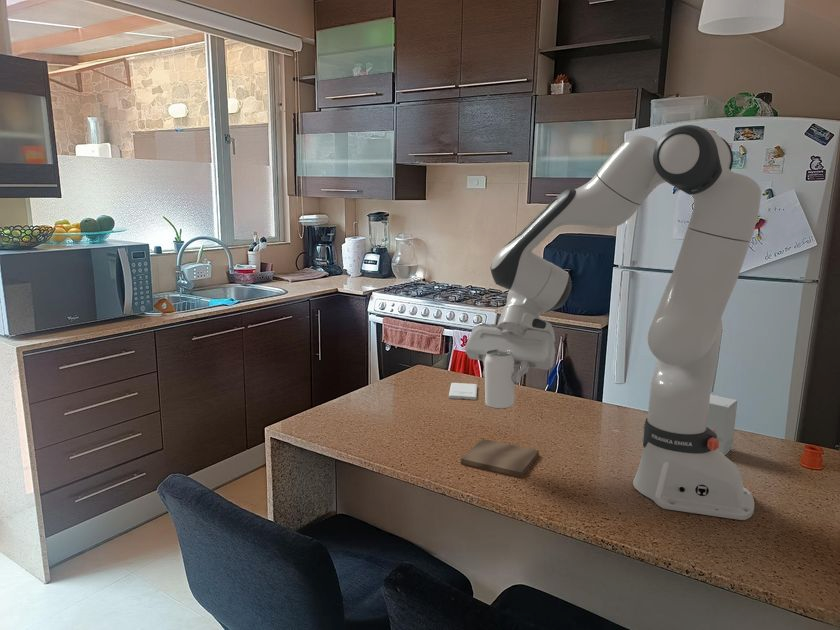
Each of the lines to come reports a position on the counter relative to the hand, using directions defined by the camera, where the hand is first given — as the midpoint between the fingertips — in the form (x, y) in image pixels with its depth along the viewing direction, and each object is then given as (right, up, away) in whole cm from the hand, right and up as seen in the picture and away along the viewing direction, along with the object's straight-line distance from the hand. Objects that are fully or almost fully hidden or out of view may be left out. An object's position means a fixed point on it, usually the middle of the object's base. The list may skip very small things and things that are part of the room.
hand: (500, 378), depth 133 cm
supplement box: (+52, -19, +12) cm, 57 cm away
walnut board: (+1, -19, +4) cm, 19 cm away
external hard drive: (-5, -10, +51) cm, 53 cm away
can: (0, -6, +2) cm, 6 cm away
